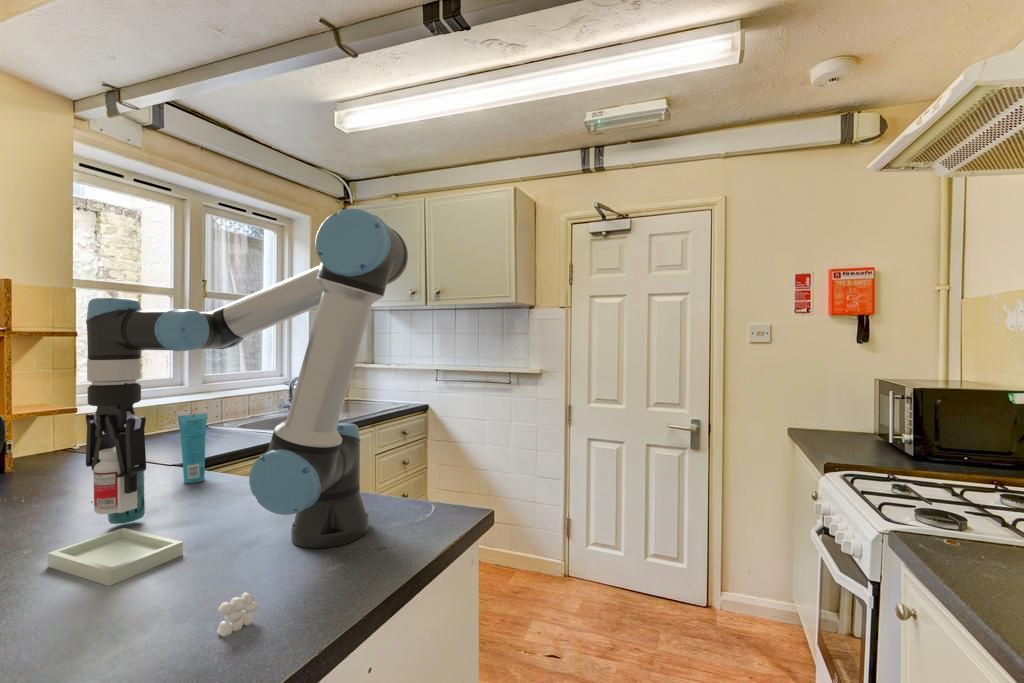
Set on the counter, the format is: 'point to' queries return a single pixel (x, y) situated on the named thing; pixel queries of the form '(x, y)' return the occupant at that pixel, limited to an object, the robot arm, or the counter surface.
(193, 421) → the tube
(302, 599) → the counter surface
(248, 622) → the white bumpy cluster
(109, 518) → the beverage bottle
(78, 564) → the tray
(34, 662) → the counter surface
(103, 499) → the pill bottle
